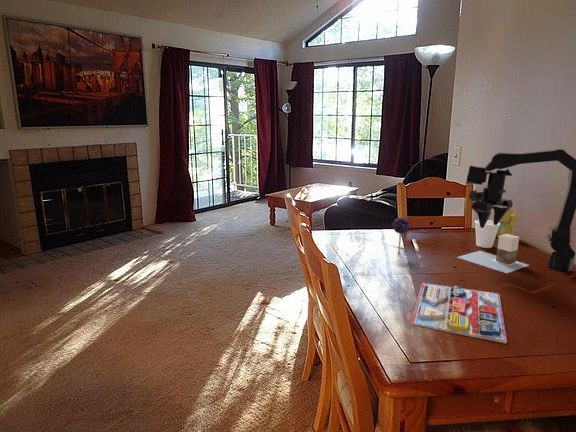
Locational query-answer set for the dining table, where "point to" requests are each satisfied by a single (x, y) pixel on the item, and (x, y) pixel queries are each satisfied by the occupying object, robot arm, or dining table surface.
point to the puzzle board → (460, 312)
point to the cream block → (508, 242)
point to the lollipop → (400, 228)
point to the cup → (486, 233)
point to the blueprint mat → (491, 261)
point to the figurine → (507, 223)
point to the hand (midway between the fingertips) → (488, 226)
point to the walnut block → (506, 256)
